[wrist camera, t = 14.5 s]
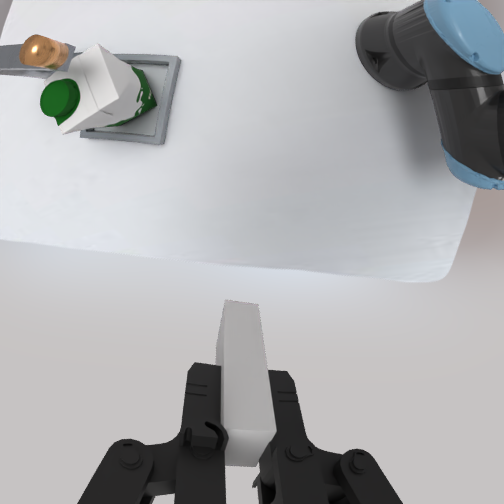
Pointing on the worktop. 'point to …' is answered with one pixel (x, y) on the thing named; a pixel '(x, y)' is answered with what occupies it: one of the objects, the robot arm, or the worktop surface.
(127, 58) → the socket frame
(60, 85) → the soya milk
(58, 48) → the crank handle
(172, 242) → the worktop surface
